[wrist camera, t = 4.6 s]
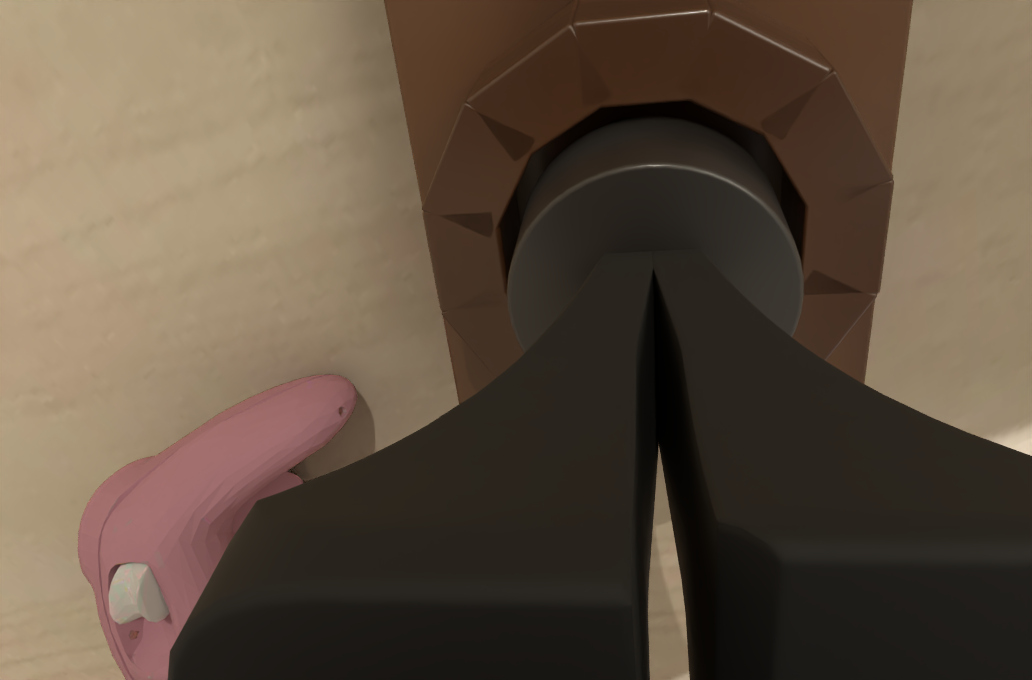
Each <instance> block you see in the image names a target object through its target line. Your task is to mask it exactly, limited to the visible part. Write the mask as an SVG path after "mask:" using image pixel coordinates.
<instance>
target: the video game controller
mask: <svg viewBox="0 0 1032 680" xmlns="http://www.w3.org/2000/svg"><path fill="white" fill-rule="evenodd" d="M357 397H358V396H357V392H356V389H355V387H354V385H353V384H352V383H351V382H350V381H349V380H348V379H346V378H344V377H342V376H336V375H315V376H310V377H305V378H300V379H297V380H294V381H291V382H288V383H285V384H282V385H279V386H276V387H273V388H271V389H269V390H266V391H264V392H262V393H260V394H257V395H255V396H253V397H250V398H248V399H246V400H244V401H242V402H240V403H239V404H237V405H235V406H233V407H231V408H229V409H227V410H225V411H223V412H222V413H220V414H218V415H217V416H215V417H214V418H212V419H211V420H209V421H208V422H206V423H205V424H203V425H202V426H200V427H199V428H197V429H195V430H194V431H192V432H191V433H189V434H188V435H186V436H185V437H183V438H182V439H180V440H179V441H177V442H176V443H174V444H173V445H171V446H170V447H168V448H167V449H165V450H164V451H162V452H161V453H159V454H158V455H156V456H151V457H147V458H142V459H139V460H137V461H134V462H132V463H130V464H127V465H126V466H124V467H123V468H121V469H120V470H118V471H117V472H115V473H114V474H113V475H112V476H110V477H109V478H108V479H107V480H106V481H104V482H103V483H102V485H101V486H100V487H99V488H98V489H97V490H96V491H95V493H94V494H93V496H92V497H91V499H90V501H89V502H88V504H87V506H86V508H85V511H84V513H83V515H82V519H81V523H80V528H79V533H78V555H79V561H80V565H81V569H82V572H83V574H84V575H85V577H86V578H87V580H88V581H89V583H90V584H91V586H92V588H93V590H94V592H95V598H96V603H97V609H98V615H99V618H100V622H101V626H102V628H103V631H104V634H105V637H106V639H107V642H108V645H109V648H110V650H111V653H112V656H113V657H114V659H115V661H116V663H117V664H118V666H119V668H120V670H121V671H122V673H123V675H124V677H125V679H126V680H168V669H169V655H170V650H171V648H172V646H173V645H174V643H175V641H176V639H177V637H178V636H179V634H180V632H181V630H182V628H183V626H184V625H185V623H186V621H187V619H188V617H189V616H190V614H191V612H192V610H193V608H194V606H195V605H196V603H197V601H198V599H199V597H200V596H201V594H202V592H203V590H204V588H205V587H206V585H207V583H208V581H209V579H210V577H211V576H212V574H213V572H214V570H215V568H216V566H217V565H218V563H219V561H220V559H221V557H222V555H223V554H224V552H225V550H226V548H227V546H228V544H229V542H230V541H231V539H232V538H233V536H234V535H235V533H236V532H237V530H238V529H239V527H240V526H241V524H242V522H243V521H244V519H245V518H246V516H247V515H248V513H249V512H250V510H251V509H252V507H253V506H254V504H255V503H256V501H257V500H260V499H263V498H266V497H269V496H271V495H274V494H277V493H280V492H282V491H285V490H287V489H290V488H293V487H295V486H298V485H300V484H303V483H304V482H303V481H302V480H301V479H300V478H299V476H297V475H295V474H293V473H290V472H288V470H289V469H291V468H292V467H294V466H295V465H297V464H298V463H300V462H301V461H303V460H304V459H306V458H307V457H309V456H310V455H312V454H313V453H315V452H316V451H318V450H319V449H320V448H322V447H323V446H325V445H326V444H327V443H328V442H329V441H330V440H331V439H332V438H333V437H334V436H335V435H336V434H337V433H338V432H339V430H340V429H341V428H342V427H343V426H344V424H345V423H346V422H347V420H348V419H349V417H350V416H351V414H352V413H353V410H354V408H355V405H356V401H357Z"/></svg>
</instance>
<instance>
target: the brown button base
mask: <svg viewBox="0 0 1032 680" xmlns="http://www.w3.org/2000/svg"><path fill="white" fill-rule="evenodd" d="M384 3H385V9H386V14H387V19H388V25H389V30H390V35H391V41H392V46H393V51H394V57H395V62H396V67H397V73H398V78H399V84H400V89H401V94H402V100H403V105H404V110H405V116H406V121H407V126H408V132H409V137H410V143H411V148H412V153H413V159H414V164H415V169H416V175H417V180H418V185H419V191H420V196H421V201H422V210H423V219H424V224H425V230H426V235H427V240H428V246H429V251H430V256H431V262H432V267H433V272H434V278H435V283H436V288H437V294H438V299H439V304H440V308H441V310H442V315H443V319H444V325H445V330H446V335H447V341H448V346H449V351H450V357H451V362H452V368H453V373H454V378H455V384H456V389H457V394H458V400H459V404H461V403H462V402H464V401H465V400H467V399H469V398H470V397H472V396H473V395H475V394H476V393H477V392H479V391H480V390H482V389H483V388H484V387H486V386H487V385H488V384H489V383H491V382H492V381H493V380H494V379H496V378H497V377H498V376H499V375H501V374H502V373H503V372H504V371H505V370H507V369H508V368H509V367H510V366H511V365H513V364H514V363H515V362H516V361H517V360H518V359H519V358H520V357H521V356H522V355H523V354H524V352H523V350H522V348H521V346H520V344H519V343H518V341H517V339H516V336H515V333H514V330H513V328H512V325H511V321H510V316H509V312H508V303H507V283H508V274H509V270H510V266H511V261H512V257H513V254H514V250H515V246H516V242H517V239H518V235H519V231H520V228H521V224H522V220H523V216H524V213H525V209H526V205H527V203H528V200H529V198H530V195H531V192H532V190H533V188H534V186H535V185H536V183H537V181H538V179H539V178H540V176H541V175H542V173H543V172H544V171H545V169H546V168H547V167H548V165H549V164H550V163H551V162H552V161H553V160H554V159H555V158H556V157H557V156H558V155H559V154H560V153H561V152H562V151H563V150H564V149H565V148H567V147H568V146H569V145H570V144H572V143H573V142H574V141H576V140H577V139H579V138H581V137H582V136H584V135H586V134H588V133H589V132H591V131H593V130H595V129H598V128H600V127H603V126H605V125H607V124H610V123H614V122H618V121H621V120H625V119H631V118H637V117H645V116H665V117H674V118H682V119H686V120H690V121H694V122H698V123H701V124H703V125H706V126H708V127H711V128H713V129H716V130H717V131H719V132H721V133H723V134H724V135H726V136H728V137H730V138H731V139H733V140H734V141H735V142H736V143H738V144H739V145H740V146H742V147H743V148H744V149H745V150H746V151H747V152H748V153H749V154H750V155H751V156H752V157H753V158H754V159H755V160H756V161H757V163H758V164H759V166H760V167H761V168H762V170H763V171H764V172H765V174H766V176H767V178H768V180H769V182H770V184H771V185H772V187H773V190H774V192H775V194H776V197H777V199H778V202H779V204H780V207H781V209H782V212H783V214H784V217H785V219H786V221H787V224H788V226H789V229H790V231H791V234H792V236H793V239H794V241H795V244H796V247H797V250H798V253H799V256H800V259H801V263H802V270H803V276H804V297H803V304H802V310H801V315H800V318H799V321H798V324H797V327H796V330H795V332H794V334H793V336H792V338H794V339H795V340H796V341H797V342H799V343H800V344H801V345H803V346H804V347H806V348H807V349H808V350H810V351H811V352H813V353H814V354H816V355H817V356H819V357H820V358H822V359H823V360H825V361H826V362H828V363H830V364H831V365H833V366H835V367H836V368H838V369H839V370H841V371H843V372H844V373H846V374H848V375H849V376H851V377H852V378H854V379H856V380H857V381H859V382H861V383H863V384H864V382H865V374H866V366H867V359H868V351H869V343H870V335H871V327H872V319H873V311H874V304H875V298H876V297H877V293H879V291H880V287H881V279H882V271H883V264H884V256H885V248H886V241H887V233H888V225H889V217H890V210H891V202H892V194H893V187H894V181H893V174H892V172H891V170H892V162H893V154H894V147H895V139H896V131H897V123H898V115H899V107H900V99H901V92H902V84H903V76H904V68H905V60H906V52H907V44H908V37H909V29H910V21H911V13H912V5H913V0H384Z"/></svg>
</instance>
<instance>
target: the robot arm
mask: <svg viewBox="0 0 1032 680" xmlns="http://www.w3.org/2000/svg"><path fill="white" fill-rule="evenodd" d="M658 446H659V447H660V453H661V459H662V465H663V471H664V477H665V483H666V490H667V495H668V501H669V507H670V513H671V519H672V525H673V531H674V537H675V543H676V549H677V555H678V561H679V567H680V573H681V579H682V587H683V595H684V603H685V612H686V627H687V642H688V658H689V674H690V680H1032V456H1030V455H1027V454H1024V453H1022V452H1019V451H1016V450H1013V449H1011V448H1008V447H1005V446H1003V445H1000V444H997V443H994V442H992V441H989V440H986V439H983V438H981V437H978V436H975V435H972V434H970V433H967V432H965V431H962V430H960V429H958V428H955V427H953V426H950V425H948V424H946V423H943V422H941V421H938V420H936V419H934V418H931V417H929V416H927V415H925V414H923V413H921V412H919V411H917V410H914V409H912V408H910V407H908V406H906V405H904V404H902V403H900V402H898V401H896V400H894V399H892V398H889V397H887V396H885V395H883V394H881V393H879V392H878V391H876V390H874V389H872V388H870V387H868V386H866V385H865V384H863V383H861V382H859V381H857V380H856V379H854V378H852V377H851V376H849V375H848V374H846V373H844V372H843V371H841V370H839V369H838V368H836V367H835V366H833V365H831V364H830V363H828V362H826V361H825V360H823V359H822V358H820V357H819V356H817V355H816V354H814V353H813V352H811V351H810V350H808V349H807V348H806V347H804V346H803V345H801V344H800V343H799V342H797V341H796V340H795V339H794V338H792V337H791V336H790V335H788V334H787V333H786V332H785V331H783V330H782V329H781V328H779V327H778V326H777V325H776V324H774V323H773V322H772V321H771V320H770V319H769V318H767V317H766V316H765V315H764V314H763V313H762V312H761V311H760V310H759V309H758V308H757V307H756V306H755V305H754V304H752V303H751V302H750V301H749V300H748V299H747V298H746V297H745V296H744V295H743V294H742V293H741V292H740V291H739V290H738V289H737V288H736V287H735V286H734V285H733V284H732V283H731V281H730V280H729V279H728V278H727V277H726V276H725V275H724V274H723V273H722V272H721V271H720V269H719V268H718V267H717V266H716V265H715V264H714V263H713V261H712V260H711V259H710V258H709V257H708V256H707V255H706V254H705V253H704V252H703V251H702V250H701V249H683V250H665V251H646V252H627V253H609V254H604V255H603V256H602V257H601V258H600V259H599V260H598V261H597V263H596V264H595V266H594V268H593V269H592V271H591V272H590V274H589V276H588V277H587V279H586V280H585V281H584V283H583V284H582V286H581V287H580V288H579V290H578V291H577V293H576V294H575V295H574V297H573V298H572V299H571V301H570V302H569V303H568V304H567V306H566V307H565V308H564V309H563V311H562V312H561V313H560V314H559V316H558V317H557V318H556V319H555V321H554V322H553V323H552V324H551V325H550V326H549V327H548V329H547V330H546V331H545V332H544V333H543V334H542V335H541V336H540V337H539V338H538V339H537V340H536V341H535V342H534V343H533V344H532V346H531V347H530V348H529V349H528V350H527V351H526V352H525V353H524V354H523V355H522V356H521V357H520V358H519V359H518V360H517V361H516V362H515V363H514V364H513V365H511V366H510V367H509V368H508V369H507V370H505V371H504V372H503V373H502V374H501V375H499V376H498V377H497V378H496V379H494V380H493V381H492V382H491V383H489V384H488V385H487V386H486V387H484V388H483V389H482V390H480V391H479V392H477V393H476V394H475V395H473V396H472V397H470V398H469V399H467V400H465V401H464V402H462V403H461V404H459V405H458V406H456V407H455V408H453V409H452V410H450V411H449V412H447V413H446V414H444V415H442V416H441V417H439V418H438V419H436V420H435V421H433V422H432V423H430V424H429V425H427V426H425V427H423V428H422V429H420V430H418V431H416V432H414V433H413V434H411V435H409V436H407V437H405V438H403V439H402V440H400V441H398V442H396V443H394V444H392V445H390V446H388V447H386V448H384V449H382V450H380V451H378V452H376V453H374V454H372V455H370V456H368V457H366V458H364V459H361V460H359V461H357V462H355V463H352V464H350V465H348V466H346V467H343V468H341V469H339V470H336V471H334V472H331V473H328V474H326V475H323V476H321V477H318V478H316V479H313V480H310V481H308V482H305V483H303V484H300V485H298V486H295V487H293V488H290V489H287V490H285V491H282V492H280V493H277V494H274V495H271V496H269V497H266V498H263V499H260V500H257V501H256V503H255V504H254V506H253V507H252V509H251V510H250V512H249V513H248V515H247V516H246V518H245V519H244V521H243V522H242V524H241V526H240V527H239V529H238V530H237V532H236V533H235V535H234V536H233V538H232V539H231V541H230V542H229V544H228V546H227V548H226V550H225V552H224V554H223V555H222V557H221V559H220V561H219V563H218V565H217V566H216V568H215V570H214V572H213V574H212V576H211V577H210V579H209V581H208V583H207V585H206V587H205V588H204V590H203V592H202V594H201V596H200V597H199V599H198V601H197V603H196V605H195V606H194V608H193V610H192V612H191V614H190V616H189V617H188V619H187V621H186V623H185V625H184V626H183V628H182V630H181V632H180V634H179V636H178V637H177V639H176V641H175V643H174V645H173V646H172V648H171V650H170V655H169V669H168V680H650V672H649V636H648V587H649V569H650V555H651V542H652V529H653V515H654V502H655V488H656V474H657V461H658Z"/></svg>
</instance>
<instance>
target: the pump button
mask: <svg viewBox="0 0 1032 680" xmlns="http://www.w3.org/2000/svg"><path fill="white" fill-rule="evenodd" d="M683 249H701V250H702V251H703V252H704V253H705V254H706V255H707V256H708V257H709V258H710V259H711V260H712V261H713V263H714V264H715V265H716V266H717V267H718V268H719V269H720V271H721V272H722V273H723V274H724V275H725V276H726V277H727V278H728V279H729V280H730V281H731V283H732V284H733V285H734V286H735V287H736V288H737V289H738V290H739V291H740V292H741V293H742V294H743V295H744V296H745V297H746V298H747V299H748V300H749V301H750V302H751V303H752V304H754V305H755V306H756V307H757V308H758V309H759V310H760V311H761V312H762V313H763V314H764V315H765V316H766V317H767V318H769V319H770V320H771V321H772V322H773V323H774V324H776V325H777V326H778V327H779V328H781V329H782V330H783V331H785V332H786V333H787V334H788V335H790V336H791V337H792V336H793V334H794V332H795V330H796V327H797V324H798V321H799V318H800V315H801V310H802V304H803V297H804V276H803V270H802V263H801V259H800V256H799V253H798V250H797V247H796V244H795V241H794V239H793V236H792V234H791V231H790V229H789V226H788V224H787V221H786V219H785V217H784V214H783V212H782V209H781V207H780V204H779V202H778V199H777V197H776V194H775V192H774V190H773V187H772V185H771V184H770V182H769V180H768V178H767V176H766V174H765V172H764V171H763V170H762V168H761V167H760V166H759V164H758V163H757V161H756V160H755V159H754V158H753V157H752V156H751V155H750V154H749V153H748V152H747V151H746V150H745V149H744V148H743V147H742V146H740V145H739V144H738V143H736V142H735V141H734V140H733V139H731V138H730V137H728V136H726V135H724V134H723V133H721V132H719V131H717V130H716V129H713V128H711V127H708V126H706V125H703V124H701V123H698V122H694V121H690V120H686V119H682V118H674V117H665V116H645V117H637V118H631V119H625V120H621V121H618V122H614V123H610V124H607V125H605V126H603V127H600V128H598V129H595V130H593V131H591V132H589V133H588V134H586V135H584V136H582V137H581V138H579V139H577V140H576V141H574V142H573V143H572V144H570V145H569V146H568V147H567V148H565V149H564V150H563V151H562V152H561V153H560V154H559V155H558V156H557V157H556V158H555V159H554V160H553V161H552V162H551V163H550V164H549V165H548V167H547V168H546V169H545V171H544V172H543V173H542V175H541V176H540V178H539V179H538V181H537V183H536V185H535V186H534V188H533V190H532V192H531V195H530V198H529V200H528V203H527V205H526V209H525V213H524V216H523V220H522V224H521V228H520V231H519V235H518V239H517V242H516V246H515V250H514V254H513V257H512V261H511V266H510V270H509V274H508V283H507V303H508V312H509V316H510V321H511V325H512V328H513V330H514V333H515V336H516V339H517V341H518V343H519V344H520V346H521V348H522V350H523V352H524V353H525V352H526V351H527V350H528V349H529V348H530V347H531V346H532V344H533V343H534V342H535V341H536V340H537V339H538V338H539V337H540V336H541V335H542V334H543V333H544V332H545V331H546V330H547V329H548V327H549V326H550V325H551V324H552V323H553V322H554V321H555V319H556V318H557V317H558V316H559V314H560V313H561V312H562V311H563V309H564V308H565V307H566V306H567V304H568V303H569V302H570V301H571V299H572V298H573V297H574V295H575V294H576V293H577V291H578V290H579V288H580V287H581V286H582V284H583V283H584V281H585V280H586V279H587V277H588V276H589V274H590V272H591V271H592V269H593V268H594V266H595V264H596V263H597V261H598V260H599V259H600V258H601V257H602V256H603V255H604V254H609V253H627V252H646V251H665V250H683Z"/></svg>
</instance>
